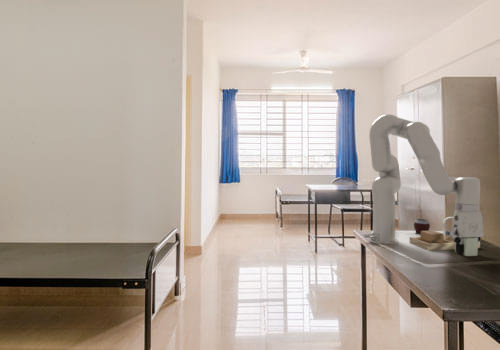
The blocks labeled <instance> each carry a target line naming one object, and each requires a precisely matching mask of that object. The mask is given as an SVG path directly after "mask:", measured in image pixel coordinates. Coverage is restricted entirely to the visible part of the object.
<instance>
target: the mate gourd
mask: <svg viewBox="0 0 500 350" xmlns="http://www.w3.org/2000/svg"><path fill="white" fill-rule="evenodd" d="M417 207H418V209H419V214H420V218H417V219H415V220H414V221H413V227H414V231H415V233H414V234H415V235H421V231H430V228H431V227H430V226H431V225H430V222H429V220H427V219H425V218H424V219H423V216H422V209H421V207H420V206H419V204H418V205H417Z"/></svg>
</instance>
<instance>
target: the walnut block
mask: <svg viewBox="0 0 500 350" xmlns="http://www.w3.org/2000/svg"><path fill="white" fill-rule="evenodd" d="M444 234H445V233H443V232H439V231H436V230H429V231H421V234H420V237H421V241H423V242H426V243H429V244H434V243H443V240H444V236H445V235H444Z"/></svg>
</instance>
